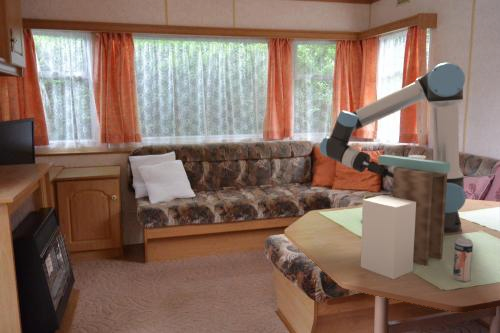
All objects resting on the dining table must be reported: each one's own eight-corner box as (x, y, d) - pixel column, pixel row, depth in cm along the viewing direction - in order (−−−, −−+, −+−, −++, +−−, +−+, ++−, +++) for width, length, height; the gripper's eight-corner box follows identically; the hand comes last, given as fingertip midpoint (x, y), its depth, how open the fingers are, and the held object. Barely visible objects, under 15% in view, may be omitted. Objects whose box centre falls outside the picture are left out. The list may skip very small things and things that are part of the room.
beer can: (449, 276, 131) (451, 237, 129) (464, 275, 132) (467, 237, 130) (458, 282, 127) (461, 243, 125) (474, 282, 127) (476, 242, 125)
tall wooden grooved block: (390, 254, 149) (393, 168, 144) (407, 248, 155) (411, 164, 150) (425, 266, 139) (430, 173, 134) (442, 259, 145) (447, 169, 140)
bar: (378, 164, 153) (378, 155, 152) (384, 163, 155) (385, 154, 154) (443, 173, 134) (444, 163, 133) (449, 172, 136) (450, 162, 135)
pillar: (360, 266, 139) (362, 199, 136) (380, 259, 145) (382, 194, 141) (393, 279, 130) (396, 207, 126) (412, 270, 136) (416, 201, 132)
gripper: (361, 172, 180) (410, 194, 169) (342, 164, 159) (396, 189, 148) (369, 155, 179) (418, 177, 169) (351, 145, 158) (406, 169, 147)
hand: (408, 183), depth 158 cm, fingers open, 13 cm apart
